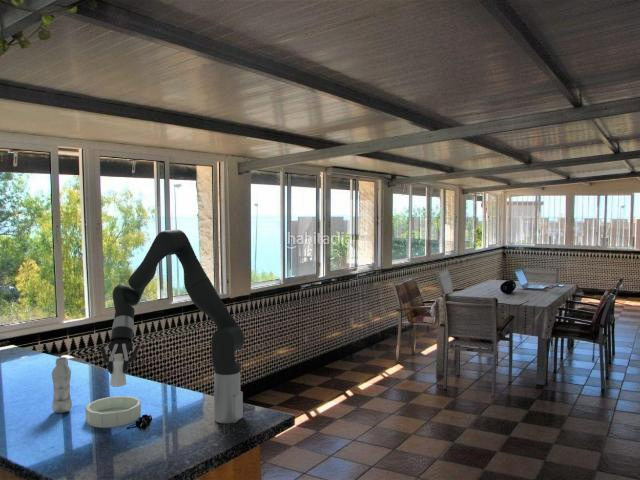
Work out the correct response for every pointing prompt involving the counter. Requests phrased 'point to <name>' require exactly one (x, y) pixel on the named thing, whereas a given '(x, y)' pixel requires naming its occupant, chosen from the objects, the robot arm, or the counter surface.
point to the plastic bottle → (61, 386)
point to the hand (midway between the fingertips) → (117, 372)
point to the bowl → (113, 411)
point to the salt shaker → (118, 372)
